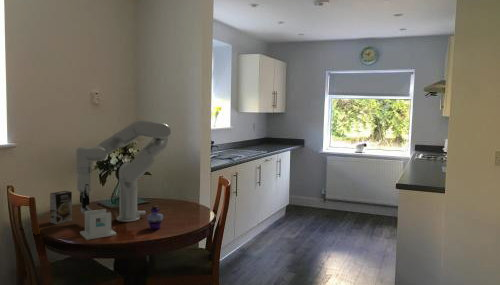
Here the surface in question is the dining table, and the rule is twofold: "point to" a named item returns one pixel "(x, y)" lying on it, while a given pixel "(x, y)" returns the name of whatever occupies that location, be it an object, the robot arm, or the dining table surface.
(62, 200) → the coffee box
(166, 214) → the dining table surface
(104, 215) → the bearing block
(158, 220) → the potion bottle
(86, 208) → the shaft
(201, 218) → the dining table surface
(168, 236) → the dining table surface
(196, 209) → the dining table surface
